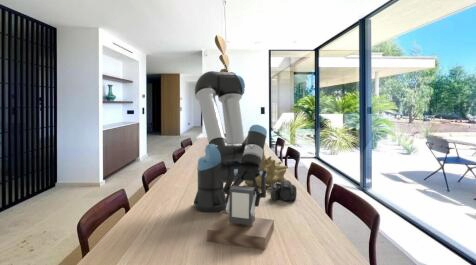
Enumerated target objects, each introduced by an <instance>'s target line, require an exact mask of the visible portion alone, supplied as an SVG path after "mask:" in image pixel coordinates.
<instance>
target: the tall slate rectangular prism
mask: <svg viewBox="0 0 476 265" xmlns="http://www.w3.org/2000/svg"><path fill="white" fill-rule="evenodd" d="M231 186H232V185H231ZM254 195H256V192H255V187H254V186H247V185H246V186H245V185H244V186H243V185H239V186H235V185H233V186H232V187H231V188H230V213H228V214H229V222H232V223H240V224H248V225H252V224H253V222H254V221H255V218H256V217H255V216H256V212H255V213H254V216H251V213H250V212H251V207H252V202H253V197H254Z"/></svg>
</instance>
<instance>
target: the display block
mask: <svg viewBox="0 0 476 265" xmlns="http://www.w3.org/2000/svg"><path fill="white" fill-rule="evenodd" d="M274 231H275V219H272V218H271V219H270V218H262V217H255V221H254V222H253V224H252V225H248V224H240V223H232V222H229V213H221V215H220V216H219V217H218V218H217V219H216V220H215V221H214V222H213V223H212V224H211V225H210V226H209V227H208V228H207V229H206V241H207V242H212V243H220V244H226V245H231V246H232V245H233V246H237V247H245V248H250V249H251V248H252V249H258V250H259V249H260V250H266V248H267V246H268V244H269V242H270V240H271V237H272V235H273V233H274Z"/></svg>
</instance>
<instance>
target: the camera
mask: <svg viewBox="0 0 476 265" xmlns="http://www.w3.org/2000/svg"><path fill="white" fill-rule="evenodd" d="M297 193H298V192H297V186H296V185H294V184H292V182H291V181H290V179H286V180H284V181H283V182H282V183H275V184H272V185H271V186H270V200H271V201H272V202H277V201H288V202H290V201H291V202H292V201H293V202H294V201H296V199H297Z"/></svg>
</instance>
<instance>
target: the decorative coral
mask: <svg viewBox="0 0 476 265" xmlns="http://www.w3.org/2000/svg"><path fill="white" fill-rule="evenodd" d="M281 164H282V161H278V162H276V160H275V159H272V156H270V155H269V157H266V155H265V149H264V150H263V155H262V160H261V165H260V171H266V173H267V177H266V186H267V185H268V186H270V187H271V185H272V184H276V183H282V182H283V181H284V180H287V179H286V178H285V174H286V172H287V169H288V166H287V165H281ZM255 179H256V183H257V186H258V187H261V176H260V175H258V176H257V177H256V178H255ZM244 184H245V185H246V186H247V187H254V185H253V181H249V180H247V181H244Z"/></svg>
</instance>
